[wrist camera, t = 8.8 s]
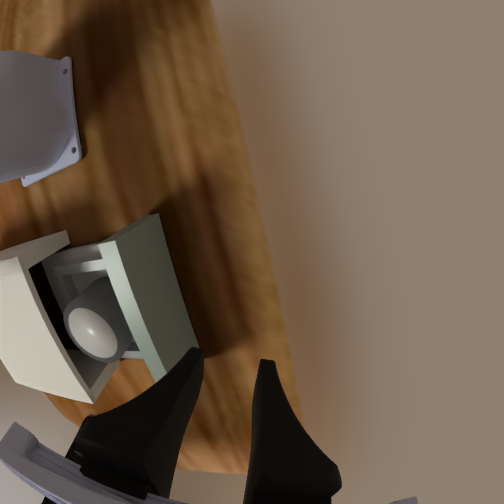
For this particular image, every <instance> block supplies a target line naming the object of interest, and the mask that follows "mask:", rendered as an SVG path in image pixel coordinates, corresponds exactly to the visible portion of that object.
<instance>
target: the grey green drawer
mask: <svg viewBox="0 0 504 504" xmlns="http://www.w3.org/2000/svg"><path fill="white" fill-rule="evenodd" d="M41 262H42V265H43V268H44V270H45V273H46V276H47V278H48V281H49V283H50V286H51V288H52V291H53V293H54V296H55V298H56V300H57V303H58V305H59V307H60V309H61V311H62V314H63V316H64V310H65V308H66V306H67V305H68V304H69V303H70V302H71V301H72V300H74V299H75V298H76V297H77V296H78V295H79V294H80V293H81V292H83V291H84V290H85V289H86V288H87V287H88V286H89V285H91V284H92V283H93V282H94V281H95V280H97V279H98V278H101V277H106V276H108V277H109V278H110V281H111V284H112V286H113V289H114V292H115V294H116V297H117V299H118V302H119V304H120V307H121V309H122V312H123V314H124V317H125V319H126V321H127V324H128V326H129V328H130V330H131V333H132V335H133V337H134V339H133V341H132V342H131V344H130V345H129V347H128V348H127V350H126V351H125V353H124V355H123V356H122V357H121V358H141V359H144V360H145V362H146V364H147V366H148V368H149V370H150V372H151V374H152V376H153V378H154V380H155V382H157V381H159V380H160V379H161V378H162V377H163V376H164V375H165V374H167V373H168V372H169V371H170V370H171V369H172V368H173V367H174V366H175V365H176V364H177V363H178V361H179V360H180V359H181V358H182V357H183V356H184V355H185V353H186V352H187V351H188V350H189V348H191V347H196V348H199V345H198V342H197V339H196V336H195V334H194V331H193V328H192V325H191V322H190V319H189V316H188V313H187V310H186V307H185V304H184V301H183V297H182V294H181V291H180V288H179V285H178V281H177V278H176V275H175V271H174V268H173V264H172V261H171V258H170V254H169V250H168V247H167V243H166V239H165V236H164V232H163V228H162V224H161V220H160V216H159V213H156V214H152V215H147V216H144V217H142V218H140V219H138V220H137V221H135V222H133V223H132V224H130V225H128V226H127V227H125V228H123V229H122V230H120V231H118V232H117V233H115V234H113V235H112V236H110V237H109V238H107V239H105V240H104V241H102V242H98V243H93V244H89V245H84V246H80V247H75V248H71V249H66V250H62V251H58V252H55V253H53V254H51V255H50V256H48V257H46V258H45V259H43V260H41ZM82 353H83V354H85V353H84V352H83V351H82ZM204 362H205V361H204Z"/></svg>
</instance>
